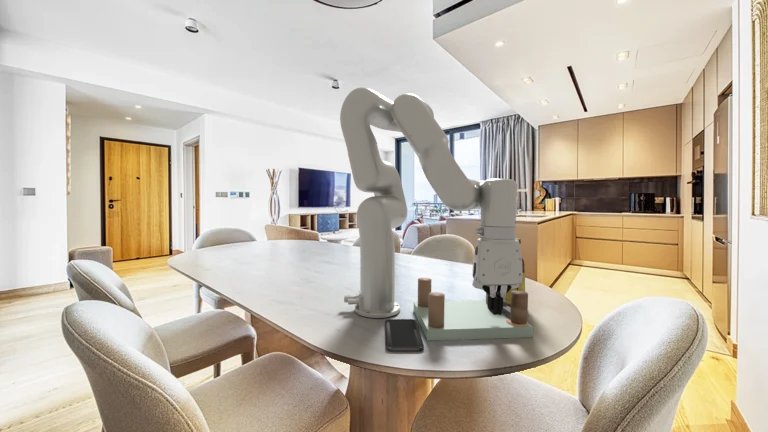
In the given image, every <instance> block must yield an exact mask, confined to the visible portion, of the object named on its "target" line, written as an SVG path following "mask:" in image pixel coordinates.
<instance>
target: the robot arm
mask: <svg viewBox="0 0 768 432" xmlns="http://www.w3.org/2000/svg"><path fill="white" fill-rule="evenodd" d="M339 116H340V117H339V120H340V123H339V124H340V126H341V127H340V128H341V132H342V136H343V139H344V142H345V147H346V150H347V155H348V156H347V157H348V160H349V161H348V162H349V165H350V169H351V174H352V178H353V182H354V185H355V186H356V188H357V189H358V190H359V191H361V192H364V193H369V194H370V193H371V194H373V195H374V196H370V197H367V198H365V199H364V200H363V201H362V202H361V203H360V204H359V205H358V208H357V211H356V222H357V229H358V234H359V254H360V255H359V258H360V259H359V263H360V264H359V265H360V268H359V270H360V272H359V274H360V281H359V282H360V283H359V285H360V289H359V290H360V291H358V292H359V293H356V294H355V295H349V294H346V295H344V296H343V297H344V298H343V301H344V303H347V305H349V306H350V305H354V312H355V313H356V314H357V315H359V316H361V317H365V318H370V319H383V318H384V319H385V318H390V317H393V316H396V315H397V314H399V313H400V311H401V305H400V304H399V303H398V302H397V301H395V293H396V292H395V282H396V281H395V278H396V277H395V276H396V275H395V273H396V272H395V271H396V269H395V267H396V265H395V263H396V262H395V260H396V259H395V258H396V257H395V256H396V255H395V254H396V247H395V246H396V245H395V238H394V235H393V230H392V229H395V228H399V227H400V226H402V225H403V224H404V223H405V221H406V219H407V217H408V206H407V201H406V197H405V193H404V189H403V185H402V181H401V177H400V174H399V172H398V170H397V168H396V167H395V166H394V165H393V163H391V162H388V161H386V160H383V159H382V157H381V155H380V151H379V148H378V147H379V146H378V141H377V138H376V136H375V134H374V132H373V130H372V128H371V126H372V127H375V128H377V129H380V130H383V131H391V132H399V133H402V135H403V136H404V138H405V139H406V141H407V142H408V144H409V145H410V147H411V148H412V150H413V151H414V153H415V155H416V156H417V158H418V162H419V163H420V166H421V169H422V171H423V175H424V176H425V178H426V179H427V181H428V183H429V185H430V186H431V188H432V189H433V191H434V192H435V194H436V195H437V197H438V198H439V200H440V202H441V203H442V204H444V206H445V207H446V208H448V209H450V210H451V211H454V212H464V211H472V210H473V211H474V210H480V225H479V227H478V228H474V230H473V233H474V235H477V236H479V237H480V238H477V240H476V243H475V248H474V252H473V261H472V278H473V280H472V284H471V285H472V287H474V288H475V289H479V290H483V291H484V292H485V294H486V293H487V294H488V305H487V306H488V309H489V311H490V312H491V313H492V314H494V315H497V314H498V315H501V313H502V310H503V298H504V297H505V296H506V293H507V292H508V291H509V290H510V289H514V288H518V287H519V286H520V285H519V284H520V283H521V282H522V258H523V257H522V256H523V255H522V248H521V243H519V240H515V238H516V227H517V203H518V200H517V199H518V183H517V182H516V180H514V179H509V178H489V179H485V180H476V179H470V178H468V177H467V176H466V175H465V173H464V171H463V170H462V169H461V167H460V166H459V164H458V162H457V161H456V159H455V158H454V156H453V154H452V153H451V150H450V147H449V144H450V143H449V142H450V141H449V138H448V136H447V134H446V133H445V131H444V130H443V129H442V127H441V125H440V124H439V123H438V122H437V120H436V119H435V115H434V111H433V109H432V107H431V106H430V105H429V104H428V103H427V102H426V101H424V99H422V98H421V97H420V96H418V95H416V94H414V93H412V92H411V93H410V92H407V93H402V94H400V95H398V96H397V97H396V98H394V100H390V99H389V98H387V97H386V96H384V95H382V94H380V93H379V92H377V91H375V90H374V89H371V88H368V87H362V86H360V87H357V88H355V89H352V90H351V91H349V93H348V95H347V96H346V97H345V98H344V100H343V103H342V105H341V109H340V115H339ZM495 285H496V291H495Z"/></svg>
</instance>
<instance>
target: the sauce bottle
mask: <svg viewBox="0 0 768 432" xmlns="http://www.w3.org/2000/svg"><path fill="white" fill-rule="evenodd" d="M515 240H519V243H520V244H521V243H522V242H521V238H520V237H519V238H518V237H515ZM525 265H526V264H525V260H524V258H523V257H522V282H521V283H520V284H519V285H520V286H519V287H518V288H514V289H510V290H509V291H508V292H507V293H506V296H505V297H504V298H503V300H504V301H506V302H507V306H509V307H510V308H511V291H524V292H526V270H525Z"/></svg>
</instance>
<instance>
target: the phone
mask: <svg viewBox="0 0 768 432" xmlns="http://www.w3.org/2000/svg"><path fill="white" fill-rule="evenodd" d="M417 321H418V320H416V319H413V318H402V319H401V318H393V319H391V318H389V319H386V320H385V322H384V323H385V347H386V351H387V352H390V353H420V352H421V353H422V352H423V351H424V350H425V349H424V348H425V345H424V341H423V338H422V335H421V331H420V328H419V324H418V322H417Z"/></svg>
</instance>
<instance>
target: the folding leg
mask: <svg viewBox="0 0 768 432" xmlns="http://www.w3.org/2000/svg"><path fill="white" fill-rule="evenodd" d="M528 308H529V293H528V292H526V291H525V292H524V291H511V308H510V307H509V306H507V302H506V301H504V300H503V310H502V312H503V313H505V314H506V315H507V316H509V317H510V320H511V321H512V322H514V323H517V324H526V323H528V312H529V311H528V310H529V309H528Z"/></svg>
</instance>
